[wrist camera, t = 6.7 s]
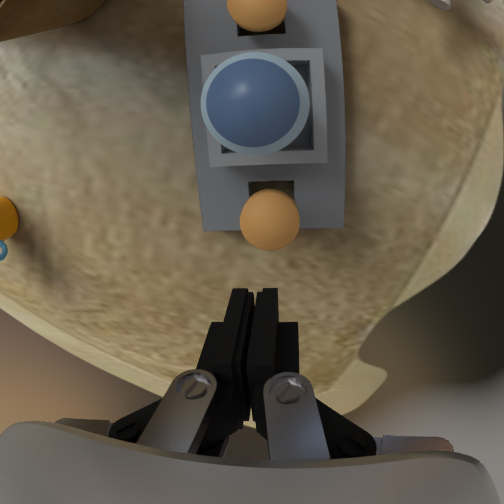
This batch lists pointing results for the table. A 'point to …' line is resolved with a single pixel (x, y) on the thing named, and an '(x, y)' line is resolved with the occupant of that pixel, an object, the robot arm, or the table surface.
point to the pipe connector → (447, 3)
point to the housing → (303, 146)
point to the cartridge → (255, 103)
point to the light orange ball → (257, 13)
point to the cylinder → (7, 223)
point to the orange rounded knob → (270, 219)
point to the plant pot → (41, 15)
